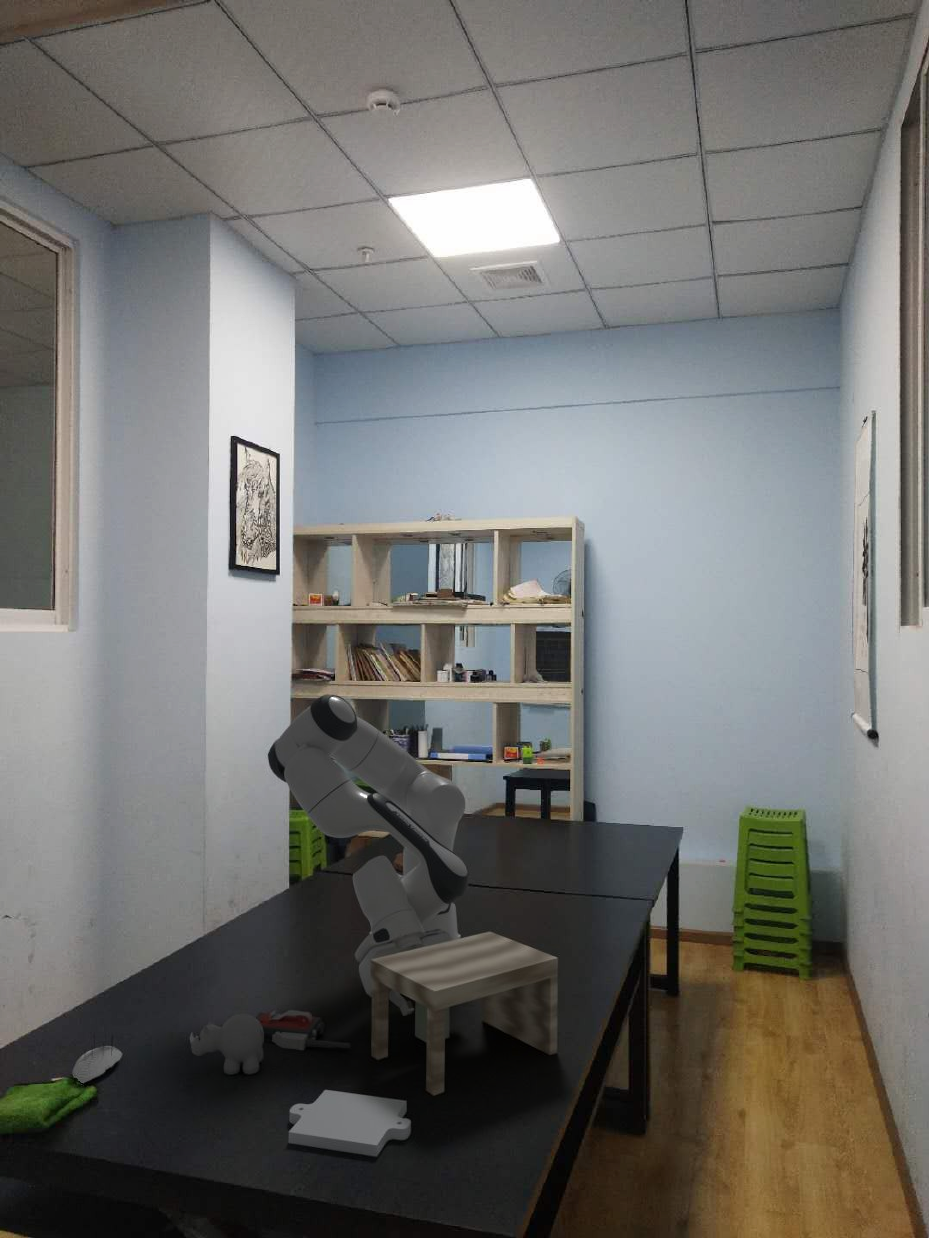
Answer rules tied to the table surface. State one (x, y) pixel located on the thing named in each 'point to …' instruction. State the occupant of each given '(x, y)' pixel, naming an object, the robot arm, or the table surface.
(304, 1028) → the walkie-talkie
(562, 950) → the table surface
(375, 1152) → the mounting plate
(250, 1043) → the chubby cartoon animal
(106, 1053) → the pincushion
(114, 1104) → the table surface
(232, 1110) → the table surface
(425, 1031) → the sage wooden block
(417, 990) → the wood grain stool
